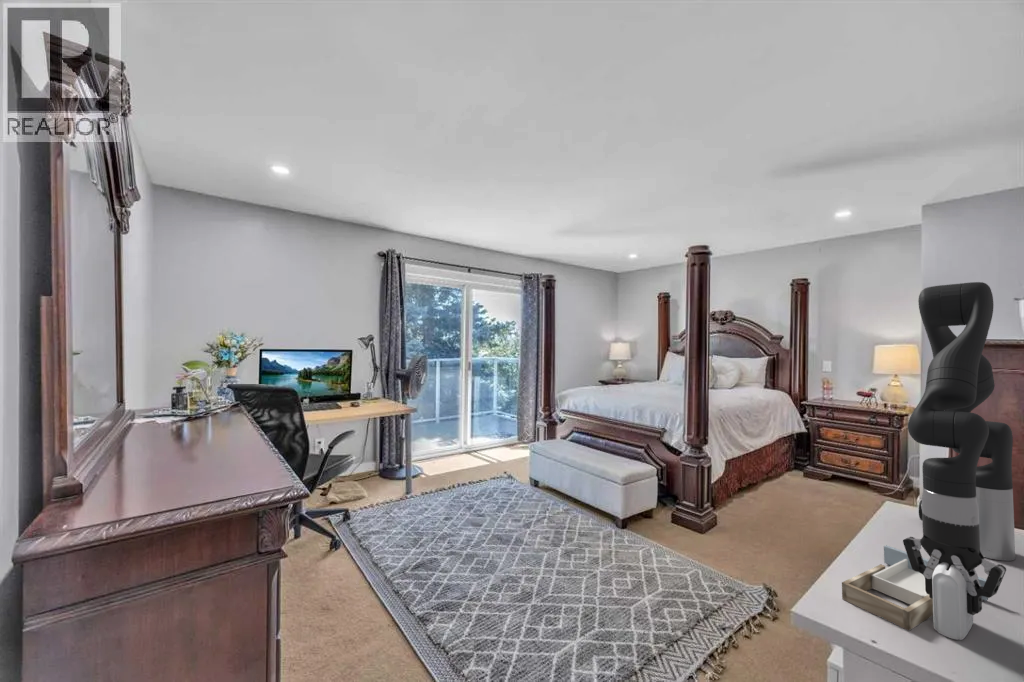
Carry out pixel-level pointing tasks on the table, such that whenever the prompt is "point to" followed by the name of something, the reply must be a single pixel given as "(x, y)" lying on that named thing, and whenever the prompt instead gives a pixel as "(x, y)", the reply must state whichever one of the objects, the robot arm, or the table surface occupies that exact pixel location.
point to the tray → (903, 578)
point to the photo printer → (950, 602)
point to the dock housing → (885, 601)
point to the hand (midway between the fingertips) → (952, 604)
